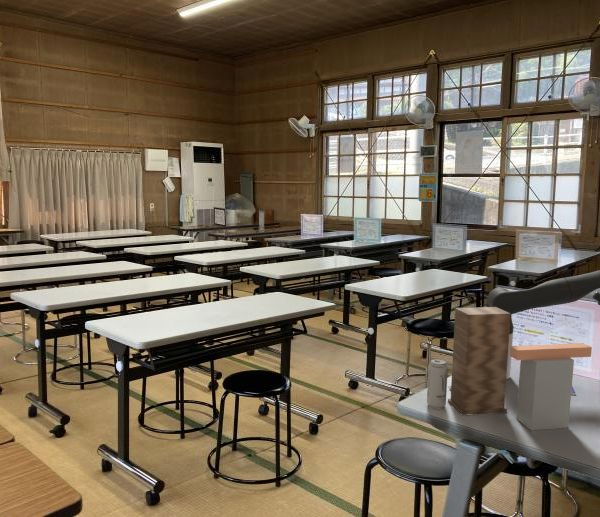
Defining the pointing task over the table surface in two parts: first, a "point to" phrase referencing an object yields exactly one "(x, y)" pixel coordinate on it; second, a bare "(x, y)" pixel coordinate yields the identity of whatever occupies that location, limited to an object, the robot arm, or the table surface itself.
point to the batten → (550, 351)
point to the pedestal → (480, 360)
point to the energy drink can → (437, 384)
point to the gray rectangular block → (545, 393)
